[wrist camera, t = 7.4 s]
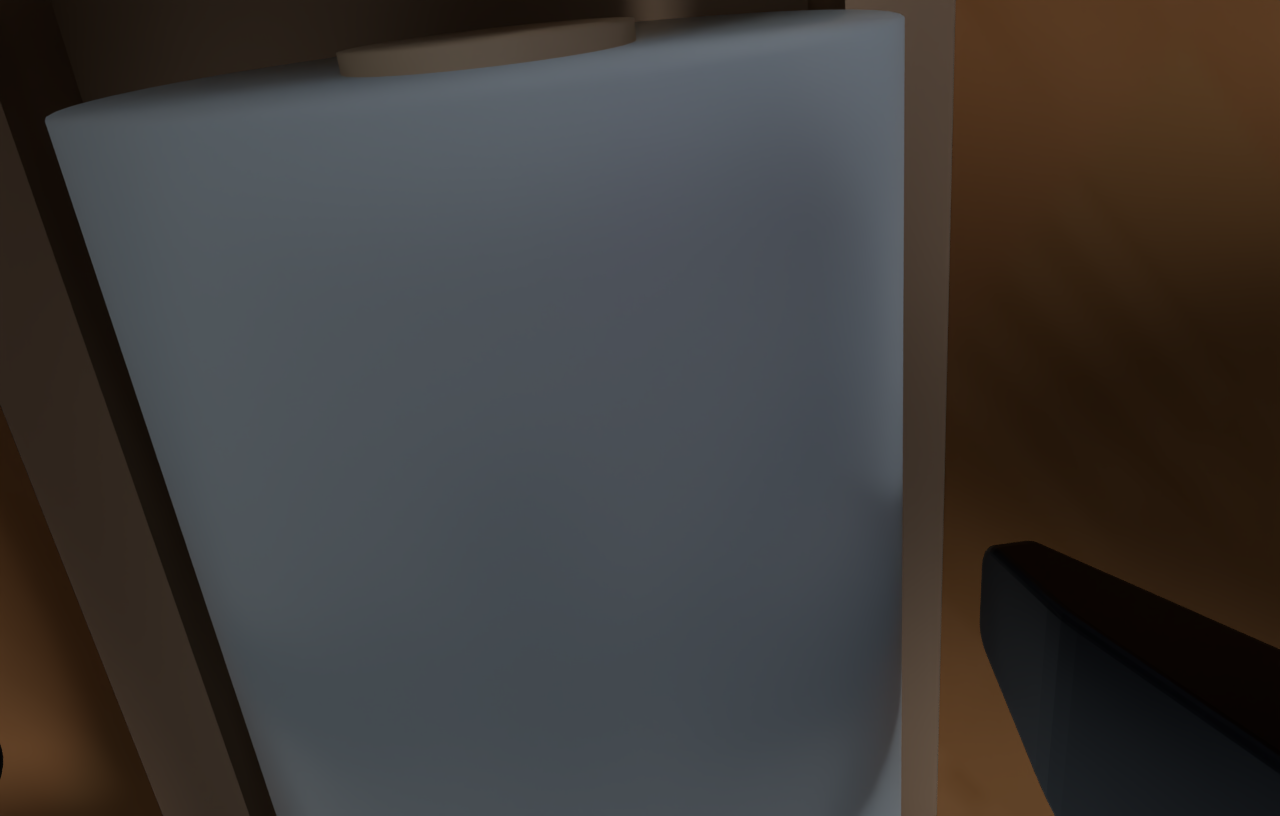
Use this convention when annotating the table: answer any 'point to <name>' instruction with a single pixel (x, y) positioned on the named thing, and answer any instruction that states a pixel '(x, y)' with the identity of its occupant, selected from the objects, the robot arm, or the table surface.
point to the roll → (533, 406)
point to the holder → (113, 421)
